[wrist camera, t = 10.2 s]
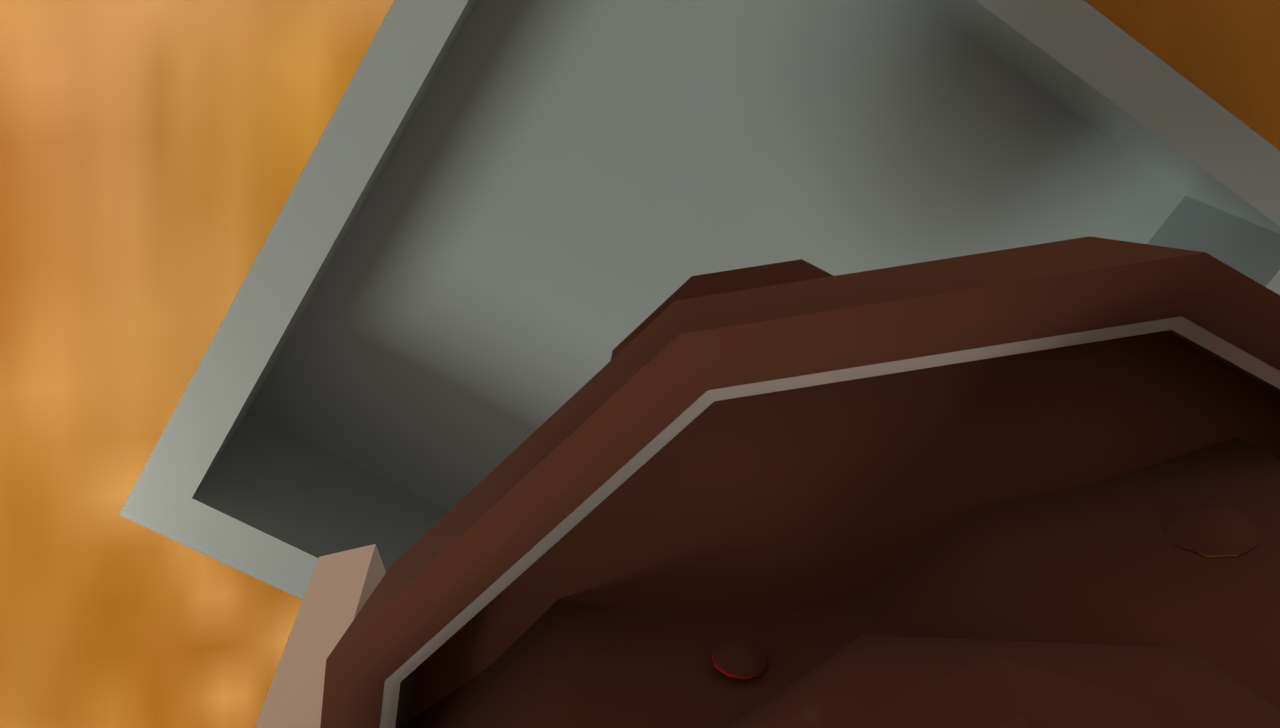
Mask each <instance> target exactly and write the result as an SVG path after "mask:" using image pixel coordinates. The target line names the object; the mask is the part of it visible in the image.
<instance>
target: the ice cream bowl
mask: <svg viewBox="0 0 1280 728" xmlns="http://www.w3.org/2000/svg"><path fill="white" fill-rule="evenodd" d="M320 728H1280V295H1279V294H1277V293H1275V292H1273V291H1272V290H1270V289H1268V288H1267V287H1265V286H1263V285H1261V284H1260V283H1258V282H1256V281H1254V280H1253V279H1251V278H1249V277H1248V276H1246V275H1244V274H1242V273H1241V272H1239V271H1237V270H1235V269H1234V268H1232V267H1230V266H1228V265H1227V264H1225V263H1223V262H1222V261H1220V260H1218V259H1216V258H1215V257H1213V256H1211V255H1209V254H1208V253H1206V252H1199V251H1192V250H1185V249H1178V248H1170V247H1163V246H1156V245H1149V244H1141V243H1134V242H1127V241H1120V240H1112V239H1105V238H1098V237H1090V236H1089V237H1082V238H1076V239H1069V240H1063V241H1057V242H1050V243H1044V244H1037V245H1031V246H1024V247H1018V248H1011V249H1005V250H998V251H992V252H986V253H979V254H973V255H966V256H960V257H953V258H947V259H940V260H934V261H928V262H921V263H915V264H908V265H902V266H895V267H889V268H882V269H876V270H869V271H863V272H857V273H850V274H844V275H837V276H833V275H831V274H829V273H828V272H826V271H824V270H822V269H820V268H818V267H816V266H814V265H812V264H810V263H808V262H806V261H804V260H802V259H799V260H793V261H786V262H780V263H773V264H767V265H761V266H754V267H748V268H741V269H735V270H728V271H722V272H715V273H709V274H702V275H696V276H691V277H690V278H689V279H688V280H687V281H686V282H685V283H684V284H683V285H682V286H681V287H680V288H679V289H678V290H676V291H675V292H674V293H673V294H672V295H671V296H670V297H669V298H668V299H667V300H666V301H665V302H664V303H663V304H662V305H660V306H659V307H658V308H657V309H656V310H655V311H654V312H653V313H652V314H651V315H650V316H649V317H648V318H647V319H645V320H644V321H643V322H642V323H641V324H640V325H639V326H638V327H637V328H636V329H635V330H634V331H633V332H632V333H630V334H629V335H628V336H627V337H626V338H625V339H624V340H623V341H622V342H621V343H620V344H619V345H618V346H617V347H615V348H614V349H613V350H612V356H611V361H610V362H609V363H608V364H607V365H606V366H604V367H603V368H602V369H601V370H600V371H599V372H598V373H597V374H596V375H595V376H594V377H593V378H592V379H590V380H589V381H588V382H587V383H586V384H585V385H584V386H583V387H582V388H581V389H580V390H579V391H578V392H577V393H575V394H574V395H573V396H572V397H571V398H570V399H569V400H568V401H567V402H566V403H565V404H564V405H563V406H561V407H560V408H559V409H558V410H557V411H556V412H555V413H554V414H553V415H552V416H551V417H550V418H549V419H548V420H546V421H545V422H544V423H543V424H542V425H541V426H540V427H539V428H538V429H537V430H536V431H535V432H534V433H533V434H531V435H530V436H529V437H528V438H527V439H526V440H525V441H524V442H523V443H522V444H521V445H520V446H519V447H517V448H516V449H515V450H514V451H513V452H512V453H511V454H510V455H509V456H508V457H507V458H506V459H505V460H504V461H502V462H501V463H500V464H499V465H498V466H497V467H496V468H495V469H494V470H493V471H492V472H491V473H490V474H489V475H487V476H486V477H485V478H484V479H483V480H482V481H481V482H480V483H479V484H478V485H477V486H476V487H475V488H473V489H472V490H471V491H470V492H469V493H468V494H467V495H466V496H465V497H464V498H463V499H462V500H461V501H460V502H458V503H457V504H456V505H455V506H454V507H453V508H452V509H451V510H450V511H449V512H448V513H447V514H446V515H444V516H443V517H442V518H441V519H440V520H439V521H438V522H437V523H436V524H435V525H434V526H433V527H432V528H431V529H429V530H428V531H427V532H426V533H425V534H424V535H423V536H422V537H421V538H420V539H419V540H418V541H417V542H416V543H414V544H413V545H412V546H411V547H410V548H409V549H408V550H407V551H406V552H405V553H404V554H403V555H402V556H400V557H399V558H398V559H397V560H396V561H395V562H394V563H393V564H392V565H391V567H390V568H389V570H388V571H387V572H386V574H385V575H384V577H383V578H382V580H381V581H380V583H379V584H378V585H377V587H376V588H375V590H374V591H373V593H372V594H371V596H370V597H369V598H368V600H367V601H366V603H365V604H364V606H363V607H362V609H361V610H360V611H359V613H358V614H357V616H356V617H355V619H354V620H353V622H352V623H351V625H350V626H349V627H348V629H347V630H346V632H345V633H344V635H343V636H342V638H341V639H340V640H339V642H338V643H337V645H336V646H335V648H334V649H333V651H332V652H331V653H330V655H329V656H328V658H327V659H326V668H325V679H324V690H323V702H322V713H321V725H320Z"/></svg>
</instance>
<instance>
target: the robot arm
mask: <svg viewBox="0 0 1280 728" xmlns="http://www.w3.org/2000/svg"><path fill="white" fill-rule="evenodd" d="M385 574H386V571H385V568H384V565H383V563H382V560H381V557H380V554H379V552H378V549H377V546H376V544H373V545H369V546H364V547H360V548H355V549H351V550H347V551H342V552H338V553H334V554H329V555H325V556H321V557H319V559H318V562H317V564H316V567H315V569H314V572H313V575H312V577H311V580H310V583H309V585H308V588H307V591H306V593H305V596H304V599H303V601H302V604H301V607H300V609H299V612H298V615H297V617H296V620H295V623H294V625H293V628H292V630H291V633H290V636H289V638H288V641H287V644H286V646H285V649H284V652H283V654H282V657H281V660H280V662H279V665H278V668H277V670H276V673H275V676H274V678H273V681H272V684H271V686H270V689H269V691H268V694H267V697H266V699H265V702H264V705H263V707H262V710H261V713H260V715H259V718H258V721H257V723H256V726H255V728H320V725H321V713H322V702H323V690H324V679H325V668H326V659H327V658H328V656H329V655H330V653H331V652H332V651H333V649H334V648H335V646H336V645H337V643H338V642H339V640H340V639H341V638H342V636H343V635H344V633H345V632H346V630H347V629H348V627H349V626H350V625H351V623H352V622H353V620H354V619H355V617H356V616H357V614H358V613H359V611H360V610H361V609H362V607H363V606H364V604H365V603H366V601H367V600H368V598H369V597H370V596H371V594H372V593H373V591H374V590H375V588H376V587H377V585H378V584H379V583H380V581H381V580H382V578H383V577H384V575H385Z"/></svg>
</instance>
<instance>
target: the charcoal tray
mask: <svg viewBox="0 0 1280 728" xmlns="http://www.w3.org/2000/svg"><path fill="white" fill-rule="evenodd" d="M1089 236H1090V237H1098V238H1105V239H1112V240H1120V241H1127V242H1134V243H1141V244H1149V245H1156V246H1163V247H1170V248H1178V249H1185V250H1192V251H1199V252H1206V253H1208V254H1209V255H1211V256H1213V257H1215V258H1216V259H1218V260H1220V261H1222V262H1223V263H1225V264H1227V265H1228V266H1230V267H1232V268H1234V269H1235V270H1237V271H1239V272H1241V273H1242V274H1244V275H1246V276H1248V277H1249V278H1251V279H1253V280H1254V281H1256V282H1258V283H1260V284H1261V285H1263V286H1265V287H1267V288H1268V289H1270V290H1272V291H1273V292H1275V293H1277V294H1279V295H1280V150H1278V149H1277V148H1276V147H1275V146H1273V145H1272V144H1271V143H1269V142H1268V141H1267V140H1265V139H1264V138H1263V137H1261V136H1260V135H1259V134H1258V133H1256V132H1255V131H1254V130H1252V129H1251V128H1250V127H1248V126H1247V125H1246V124H1245V123H1243V122H1242V121H1241V120H1239V119H1238V118H1237V117H1235V116H1234V115H1233V114H1232V113H1230V112H1229V111H1228V110H1226V109H1225V108H1224V107H1222V106H1221V105H1220V104H1219V103H1217V102H1216V101H1215V100H1213V99H1212V98H1211V97H1209V96H1208V95H1207V94H1205V93H1204V92H1203V91H1202V90H1200V89H1199V88H1198V87H1196V86H1195V85H1194V84H1192V83H1191V82H1190V81H1189V80H1187V79H1186V78H1185V77H1183V76H1182V75H1181V74H1179V73H1178V72H1177V71H1176V70H1174V69H1173V68H1172V67H1170V66H1169V65H1168V64H1166V63H1165V62H1164V61H1163V60H1161V59H1160V58H1159V57H1157V56H1156V55H1155V54H1153V53H1152V52H1151V51H1149V50H1148V49H1147V48H1146V47H1144V46H1143V45H1142V44H1140V43H1139V42H1138V41H1136V40H1135V39H1134V38H1133V37H1131V36H1130V35H1129V34H1127V33H1126V32H1125V31H1123V30H1122V29H1121V28H1120V27H1118V26H1117V25H1116V24H1114V23H1113V22H1112V21H1110V20H1109V19H1108V18H1107V17H1105V16H1104V15H1103V14H1101V13H1100V12H1099V11H1097V10H1096V9H1095V8H1094V7H1092V6H1091V5H1090V4H1088V3H1087V2H1086V1H1084V0H394V1H393V3H392V5H391V7H390V9H389V11H388V13H387V15H386V16H385V18H384V20H383V22H382V24H381V26H380V28H379V29H378V31H377V33H376V35H375V37H374V39H373V41H372V43H371V44H370V46H369V48H368V50H367V52H366V54H365V56H364V58H363V59H362V61H361V63H360V65H359V67H358V69H357V71H356V73H355V74H354V76H353V78H352V80H351V82H350V84H349V86H348V87H347V89H346V91H345V93H344V95H343V97H342V99H341V101H340V102H339V104H338V106H337V108H336V110H335V112H334V114H333V116H332V117H331V119H330V121H329V123H328V125H327V127H326V129H325V131H324V132H323V134H322V136H321V138H320V140H319V142H318V144H317V145H316V147H315V149H314V151H313V153H312V155H311V157H310V159H309V160H308V162H307V164H306V166H305V168H304V170H303V172H302V174H301V175H300V177H299V179H298V181H297V183H296V185H295V187H294V188H293V190H292V192H291V194H290V196H289V198H288V200H287V202H286V203H285V205H284V207H283V209H282V211H281V213H280V215H279V217H278V218H277V220H276V222H275V224H274V226H273V228H272V230H271V232H270V233H269V235H268V237H267V239H266V241H265V243H264V245H263V246H262V248H261V250H260V252H259V254H258V256H257V258H256V260H255V261H254V263H253V265H252V267H251V269H250V271H249V273H248V275H247V276H246V278H245V280H244V282H243V284H242V286H241V288H240V290H239V291H238V293H237V295H236V297H235V299H234V301H233V303H232V304H231V306H230V308H229V310H228V312H227V314H226V316H225V318H224V319H223V321H222V323H221V325H220V327H219V329H218V331H217V333H216V334H215V336H214V338H213V340H212V342H211V344H210V346H209V348H208V349H207V351H206V353H205V355H204V357H203V359H202V361H201V362H200V364H199V366H198V368H197V370H196V372H195V374H194V376H193V377H192V379H191V381H190V383H189V385H188V387H187V389H186V391H185V392H184V394H183V396H182V398H181V400H180V402H179V404H178V406H177V407H176V409H175V411H174V413H173V415H172V417H171V419H170V420H169V422H168V424H167V426H166V428H165V430H164V432H163V434H162V435H161V437H160V439H159V441H158V443H157V445H156V447H155V449H154V450H153V452H152V454H151V456H150V458H149V460H148V462H147V464H146V465H145V467H144V469H143V471H142V473H141V475H140V477H139V478H138V480H137V482H136V484H135V486H134V488H133V490H132V492H131V493H130V495H129V497H128V499H127V501H126V503H125V505H124V507H123V508H122V510H121V512H120V514H119V515H120V516H123V517H125V518H127V519H129V520H131V521H133V522H136V523H138V524H140V525H142V526H144V527H146V528H148V529H151V530H153V531H155V532H157V533H159V534H161V535H164V536H166V537H168V538H170V539H172V540H174V541H177V542H179V543H181V544H183V545H185V546H187V547H190V548H192V549H194V550H196V551H198V552H200V553H203V554H205V555H207V556H209V557H211V558H213V559H215V560H218V561H220V562H222V563H224V564H226V565H228V566H231V567H233V568H235V569H237V570H239V571H241V572H244V573H246V574H248V575H250V576H252V577H254V578H257V579H259V580H261V581H263V582H265V583H267V584H270V585H272V586H274V587H276V588H278V589H280V590H282V591H285V592H287V593H289V594H291V595H293V596H295V597H298V598H300V599H302V600H303V599H304V596H305V593H306V591H307V588H308V585H309V583H310V580H311V577H312V575H313V572H314V569H315V567H316V564H317V562H318V559H319V557H321V556H325V555H329V554H334V553H338V552H342V551H347V550H351V549H355V548H360V547H364V546H369V545H373V544H376V546H377V549H378V552H379V554H380V557H381V560H382V563H383V565H384V568H385V571H386V572H387V571H388V570H389V568H390V567H391V565H392V564H393V563H394V562H395V561H396V560H397V559H398V558H399V557H400V556H402V555H403V554H404V553H405V552H406V551H407V550H408V549H409V548H410V547H411V546H412V545H413V544H414V543H416V542H417V541H418V540H419V539H420V538H421V537H422V536H423V535H424V534H425V533H426V532H427V531H428V530H429V529H431V528H432V527H433V526H434V525H435V524H436V523H437V522H438V521H439V520H440V519H441V518H442V517H443V516H444V515H446V514H447V513H448V512H449V511H450V510H451V509H452V508H453V507H454V506H455V505H456V504H457V503H458V502H460V501H461V500H462V499H463V498H464V497H465V496H466V495H467V494H468V493H469V492H470V491H471V490H472V489H473V488H475V487H476V486H477V485H478V484H479V483H480V482H481V481H482V480H483V479H484V478H485V477H486V476H487V475H489V474H490V473H491V472H492V471H493V470H494V469H495V468H496V467H497V466H498V465H499V464H500V463H501V462H502V461H504V460H505V459H506V458H507V457H508V456H509V455H510V454H511V453H512V452H513V451H514V450H515V449H516V448H517V447H519V446H520V445H521V444H522V443H523V442H524V441H525V440H526V439H527V438H528V437H529V436H530V435H531V434H533V433H534V432H535V431H536V430H537V429H538V428H539V427H540V426H541V425H542V424H543V423H544V422H545V421H546V420H548V419H549V418H550V417H551V416H552V415H553V414H554V413H555V412H556V411H557V410H558V409H559V408H560V407H561V406H563V405H564V404H565V403H566V402H567V401H568V400H569V399H570V398H571V397H572V396H573V395H574V394H575V393H577V392H578V391H579V390H580V389H581V388H582V387H583V386H584V385H585V384H586V383H587V382H588V381H589V380H590V379H592V378H593V377H594V376H595V375H596V374H597V373H598V372H599V371H600V370H601V369H602V368H603V367H604V366H606V365H607V364H608V363H609V362H610V361H611V356H612V350H613V349H614V348H615V347H617V346H618V345H619V344H620V343H621V342H622V341H623V340H624V339H625V338H626V337H627V336H628V335H629V334H630V333H632V332H633V331H634V330H635V329H636V328H637V327H638V326H639V325H640V324H641V323H642V322H643V321H644V320H645V319H647V318H648V317H649V316H650V315H651V314H652V313H653V312H654V311H655V310H656V309H657V308H658V307H659V306H660V305H662V304H663V303H664V302H665V301H666V300H667V299H668V298H669V297H670V296H671V295H672V294H673V293H674V292H675V291H676V290H678V289H679V288H680V287H681V286H682V285H683V284H684V283H685V282H686V281H687V280H688V279H689V278H690V277H691V276H696V275H702V274H709V273H715V272H722V271H728V270H735V269H741V268H748V267H754V266H761V265H767V264H773V263H780V262H786V261H793V260H799V259H802V260H804V261H806V262H808V263H810V264H812V265H814V266H816V267H818V268H820V269H822V270H824V271H826V272H828V273H829V274H831V275H833V276H837V275H844V274H850V273H857V272H863V271H869V270H876V269H882V268H889V267H895V266H902V265H908V264H915V263H921V262H928V261H934V260H940V259H947V258H953V257H960V256H966V255H973V254H979V253H986V252H992V251H998V250H1005V249H1011V248H1018V247H1024V246H1031V245H1037V244H1044V243H1050V242H1057V241H1063V240H1069V239H1076V238H1082V237H1089Z"/></svg>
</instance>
